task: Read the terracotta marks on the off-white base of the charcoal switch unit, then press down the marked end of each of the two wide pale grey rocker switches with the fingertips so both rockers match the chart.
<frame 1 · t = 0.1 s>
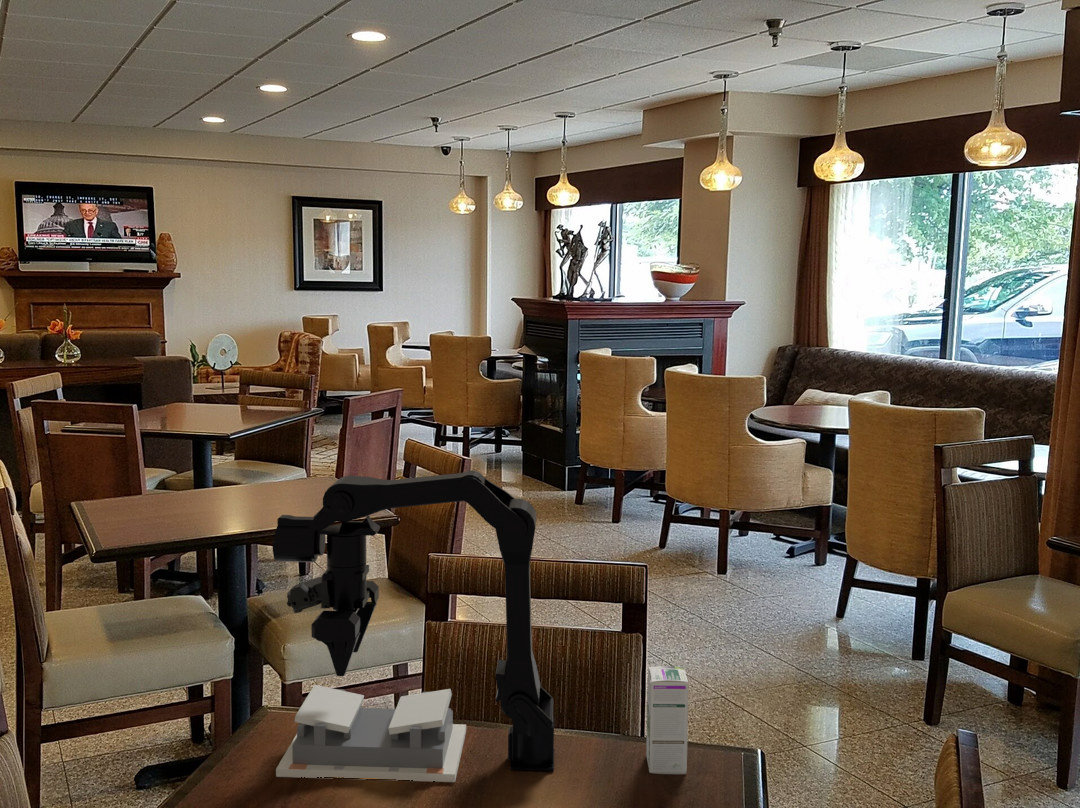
hand: (347, 663, 148), 15 cm above the table, tool pointing down, fingers open, 9 cm apart
rocker 2: (421, 712, 149), point 7 cm above the table, hinge at 11.0°
switch unit: (375, 753, 150), on the table
rocker 1: (330, 709, 150), point 7 cm above the table, hinge at -11.0°
syrup box: (665, 766, 148), on the table
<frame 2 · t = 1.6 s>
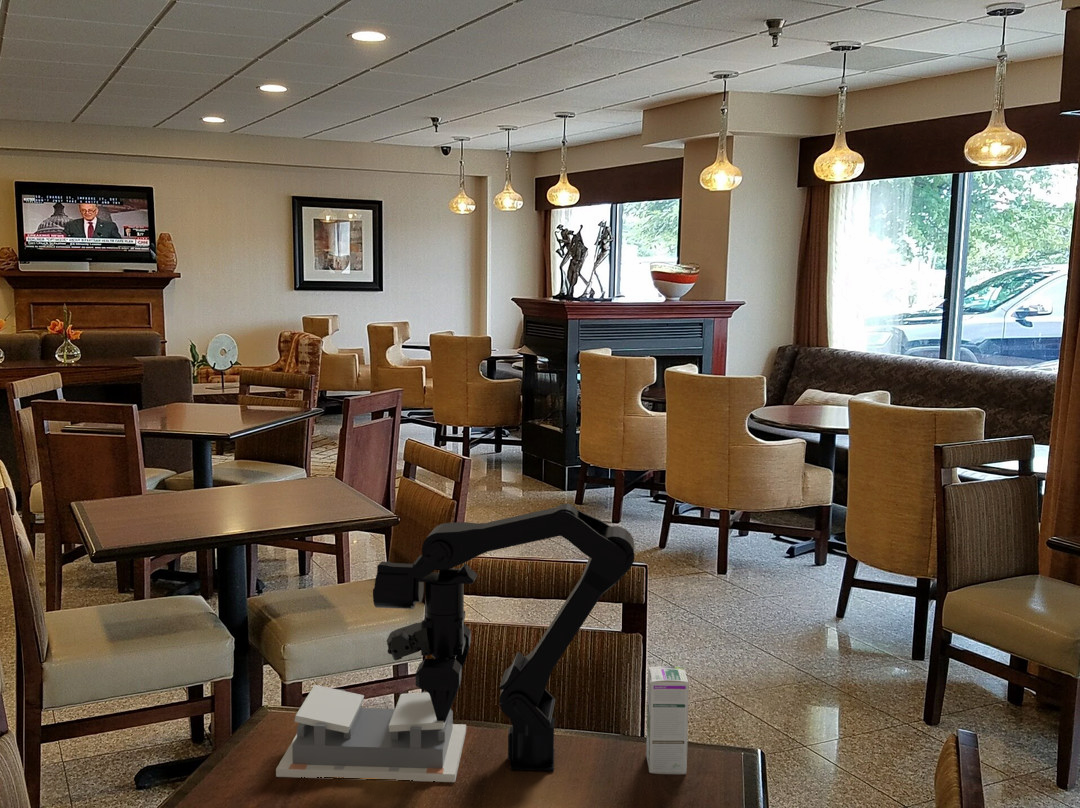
hand: (445, 708, 149), 7 cm above the table, tool pointing down
rocker 2: (421, 712, 149), point 7 cm above the table, hinge at 4.8°, touching gripper
everything else where it was.
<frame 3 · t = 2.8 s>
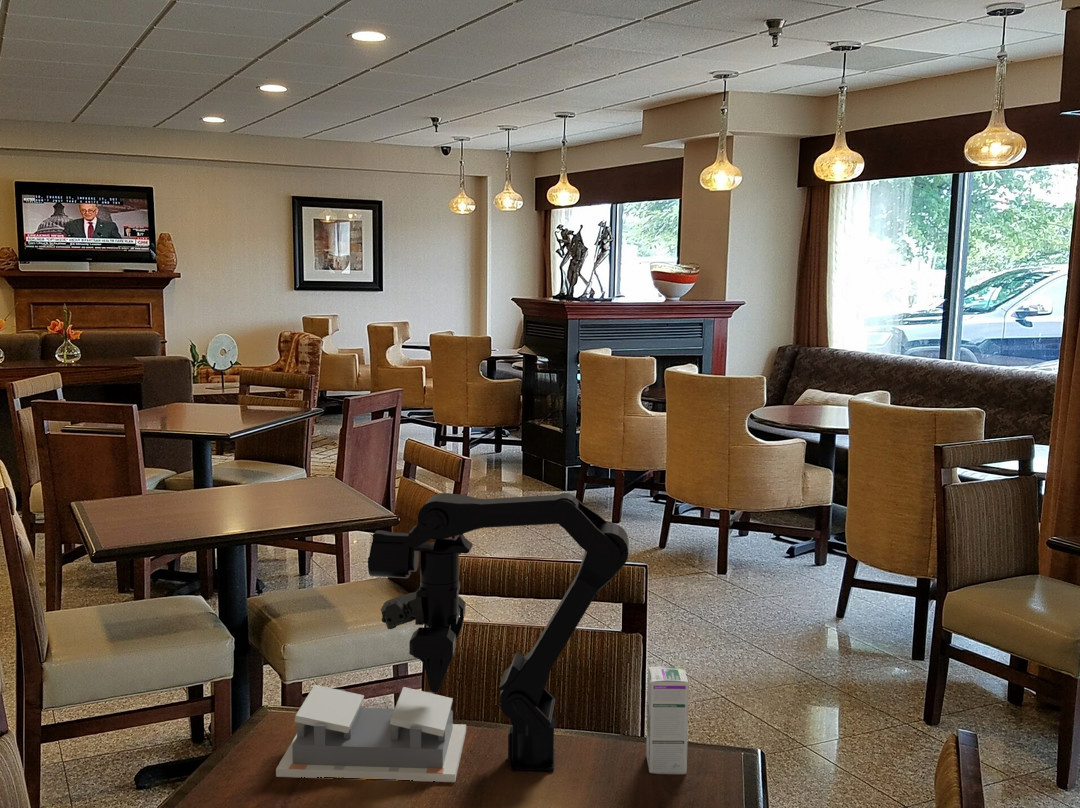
hand: (438, 679, 149), 12 cm above the table, tool pointing down, fingers open, 9 cm apart
rocker 2: (422, 712, 149), point 7 cm above the table, hinge at -12.1°, touching switch unit
everything else where it was.
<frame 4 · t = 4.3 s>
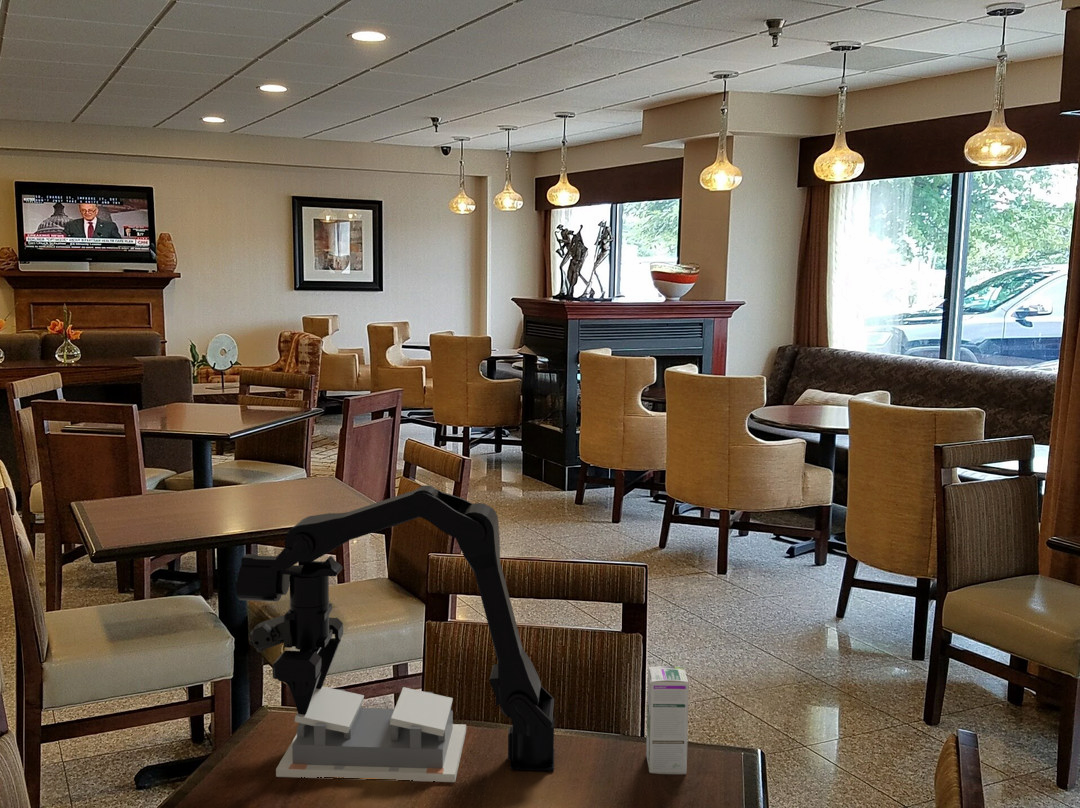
hand: (310, 701, 150), 8 cm above the table, tool pointing down
rocker 2: (422, 712, 149), point 7 cm above the table, hinge at -11.5°
rocker 1: (330, 709, 150), point 7 cm above the table, hinge at -10.9°, touching gripper
everything else where it was.
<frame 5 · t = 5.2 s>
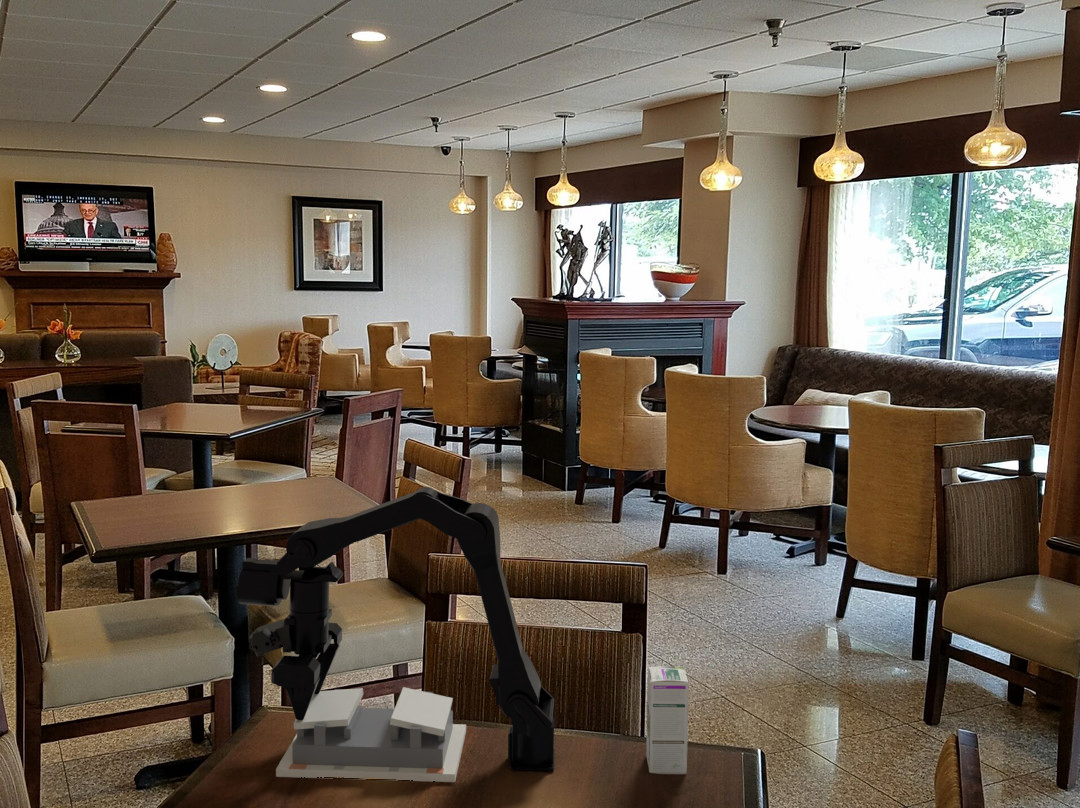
hand: (308, 706, 150), 7 cm above the table, tool pointing down, fingers open, 9 cm apart
rocker 1: (329, 709, 150), point 7 cm above the table, hinge at 6.0°
everything else where it was.
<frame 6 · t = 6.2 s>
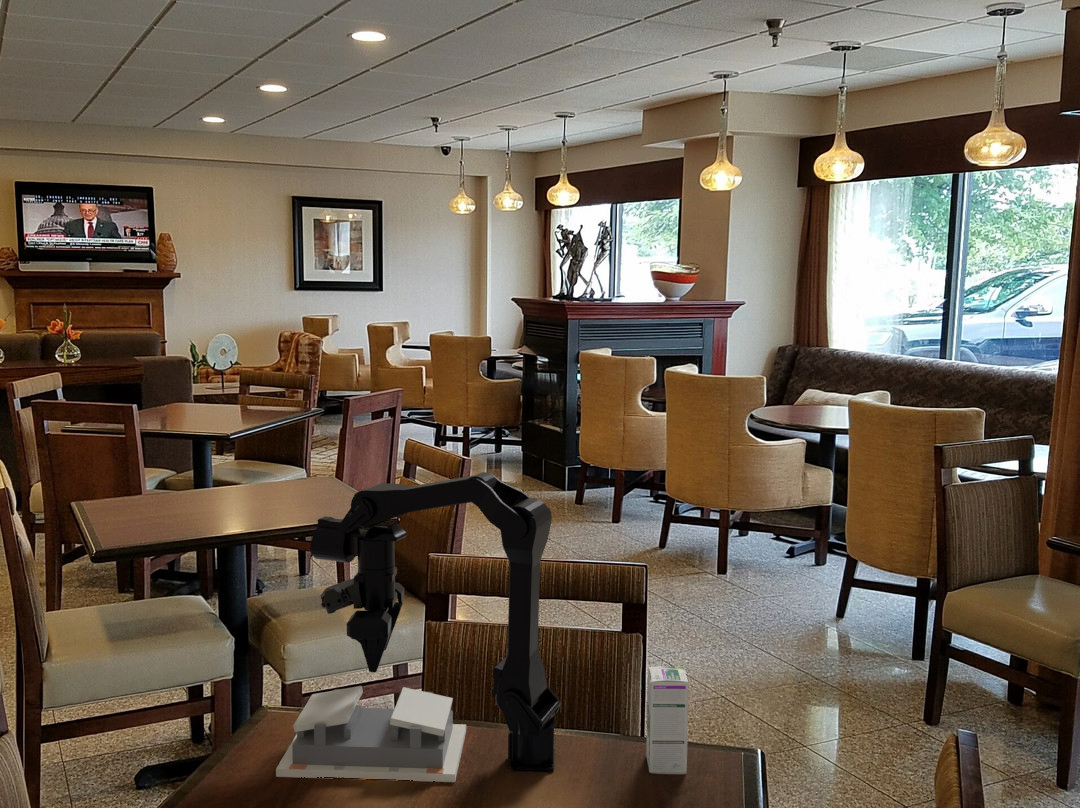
hand: (377, 660, 156), 12 cm above the table, tool pointing down, fingers open, 9 cm apart
rocker 1: (329, 709, 150), point 7 cm above the table, hinge at 11.9°, touching switch unit
everything else where it was.
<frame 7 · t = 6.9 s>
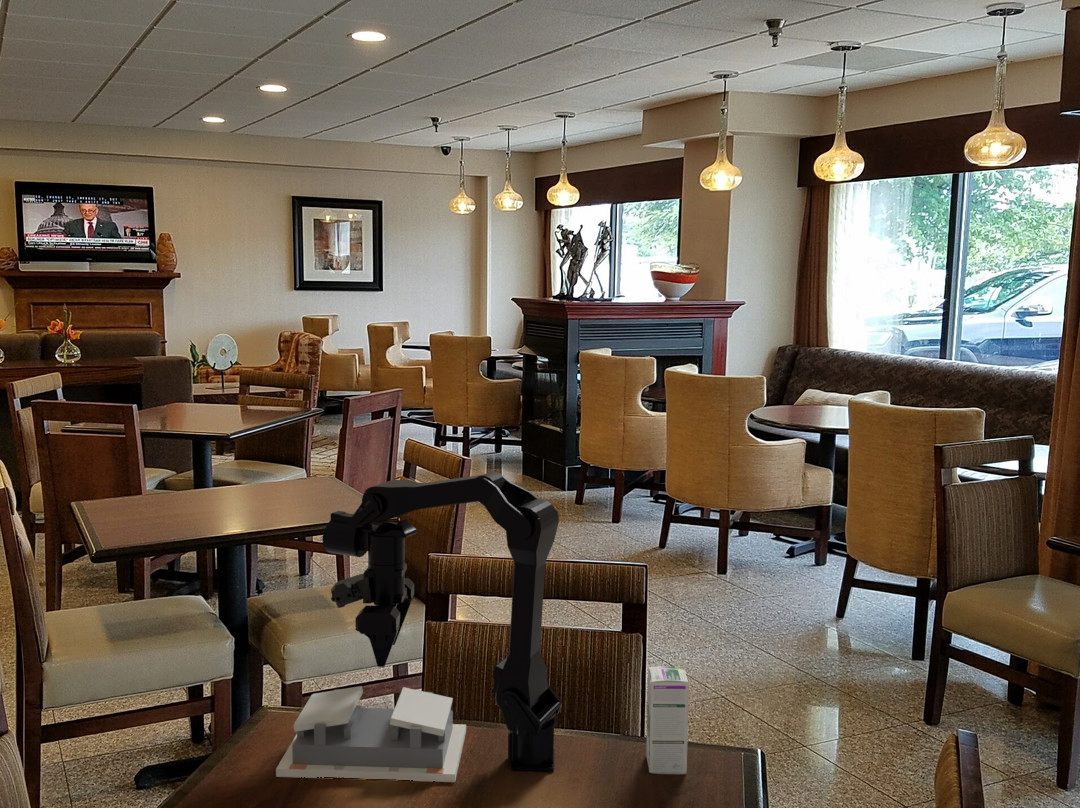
hand: (386, 655, 158), 12 cm above the table, tool pointing down, fingers open, 9 cm apart
rocker 1: (329, 709, 150), point 7 cm above the table, hinge at 11.2°
everything else where it was.
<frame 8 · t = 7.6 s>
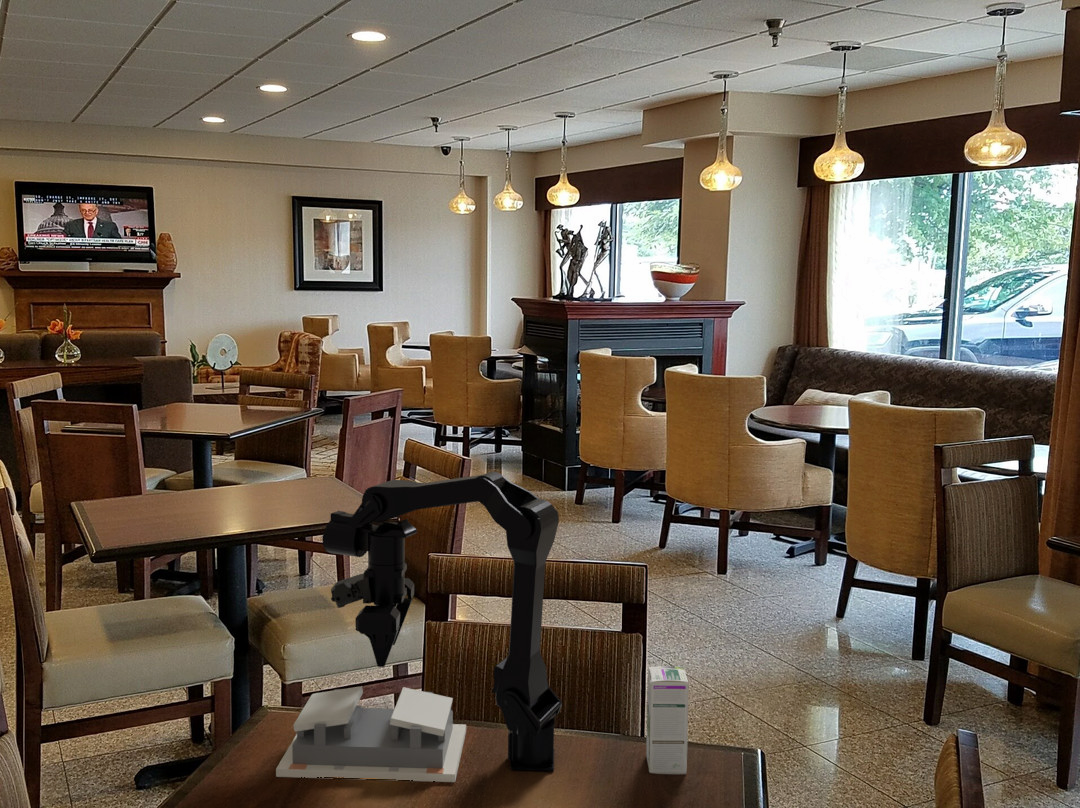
hand: (386, 655, 158), 12 cm above the table, tool pointing down, fingers open, 9 cm apart
nothing on the table moved.
at the end: rocker 2 at -11° (first picture: +11°); rocker 1 at +11° (first picture: -11°) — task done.
